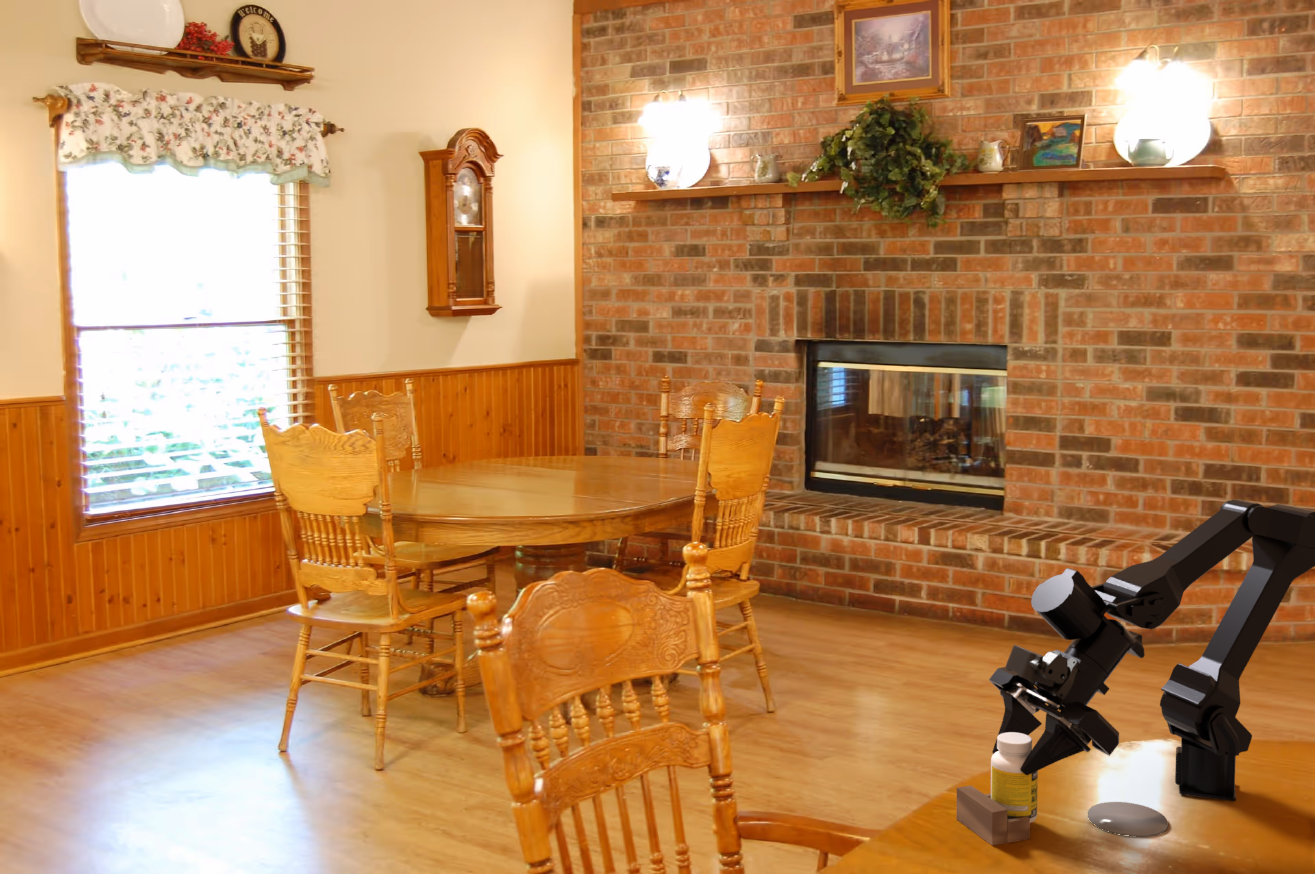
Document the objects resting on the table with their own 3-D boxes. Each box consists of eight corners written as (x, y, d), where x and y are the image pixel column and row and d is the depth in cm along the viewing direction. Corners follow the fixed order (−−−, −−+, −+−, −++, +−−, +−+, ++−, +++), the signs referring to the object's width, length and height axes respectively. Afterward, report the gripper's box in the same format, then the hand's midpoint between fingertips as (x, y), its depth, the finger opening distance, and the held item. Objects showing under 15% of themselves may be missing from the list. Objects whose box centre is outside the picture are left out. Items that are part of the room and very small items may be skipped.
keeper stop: (991, 812, 152) (991, 781, 151) (1029, 838, 145) (1029, 806, 144) (956, 818, 150) (956, 787, 150) (992, 845, 143) (992, 812, 143)
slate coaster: (1167, 810, 151) (1168, 807, 151) (1167, 841, 143) (1167, 838, 143) (1090, 800, 155) (1090, 797, 155) (1084, 830, 146) (1085, 827, 146)
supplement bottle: (1039, 827, 145) (1039, 747, 144) (992, 824, 146) (991, 745, 145) (1035, 808, 150) (1035, 730, 149) (989, 805, 152) (989, 728, 150)
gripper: (1002, 603, 156) (925, 700, 154) (1098, 642, 138) (1013, 752, 136) (1055, 656, 159) (981, 751, 157) (1155, 701, 141) (1073, 809, 139)
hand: (1009, 764), depth 147 cm, fingers closed on supplement bottle, 5 cm apart
